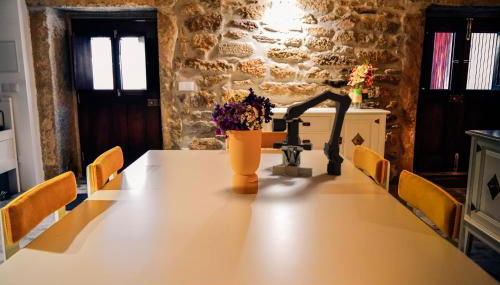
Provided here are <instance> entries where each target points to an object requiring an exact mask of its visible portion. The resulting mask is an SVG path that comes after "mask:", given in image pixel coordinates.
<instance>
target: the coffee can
mask: <svg viewBox="0 0 500 285" xmlns="http://www.w3.org/2000/svg"><path fill="white" fill-rule="evenodd" d="M281 140H282V141H281V142H283V143H284V144H287V141H286V138H283V139H281ZM300 144H302V138H300ZM296 150H297V148H289V156H290V151H296ZM281 152H282V153H281V154H282V158H281V159H282V162H281V163H282V164H281V166H285V165H286V164H287V163H288V160H287V157H286V155H285V153H284V151H282V150H281ZM301 153H302V152H300V154H299V157H298V160H297V163H296V164H300V166H301V162H302V161H301V160H302V159H301V158H302V157H301V156H302V154H301Z"/></svg>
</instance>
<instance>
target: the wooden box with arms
mask: <svg viewBox="0 0 500 285" xmlns="http://www.w3.org/2000/svg"><path fill="white" fill-rule="evenodd" d="M272 174H273V175H284V177H290V178H291V177H292V178H298V177H299V176H300V177H310V178H311V177H313V167H303V166H302V167H301V165H300V164H296V165H295V166H289V163H287V164H286V165H285V166H283V165H274V164H273V165H272Z"/></svg>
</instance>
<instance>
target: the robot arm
mask: <svg viewBox="0 0 500 285" xmlns="http://www.w3.org/2000/svg"><path fill="white" fill-rule="evenodd" d="M328 100H329V101H332V102H335V103H334V106H335V115H334V120H333V124H332V127H331V128H332V129H331V134H330V137H329V140H328V142H324V144H323V149H322V151H323V154H324V156H325V157H326V158H327V160H328V162H327V164H326V173H327V175H334V176H341V175H342V164H343V163H344V158H343V157H342V156H341V155H340V152H341V150H340V138H341V135H342V134H341V133H342V130H343V125H344V120H345V116H346V113H347V112H348V110H350V107H351V105H352V102H353V101H352V100H353V99H352V97H351V96H350V95H349V94H341V93H340V94H339V93H337V92H334V91H333V92H332V91H331V90H324V91H323V92H321V93H319V94H316V95H315V96H313V97H311V98H309V99H307V100H305V101H303V102H300V103H295V104H292V105H289V106H288V107H286V112H285V114H284V115H283V117H281V118H280V117H278V118H277V117H273V118H272V121H271V132H272V133H285V131H286V137H285V139H286V141H287V144H284V143H283V141H279V140H278V141H275V142H274V143H272V149H273V150H276V149H277V150H280V149H281V152H282V151H284V153H285V155H286V157H287V160H288V163H289V158H290V156H289V148H297V150H296V158H295V163H297V160H298V157H299V154H300V152H301V153H303V152H304V151H310V152H311V151H312V150H313V146H314V145H313V143H312V142H304V143H303V144H302V143H301V144H300V139H301V137H300V136H299V135H300V123H304V121H303V120H302V118H301V116H302V115H303V114H304V113H305V112H306V111H308V110H309V109H312V108H314V107H316V106H317V105H320V104H322V103H324V102H326V101H328Z"/></svg>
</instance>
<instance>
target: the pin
mask: <svg viewBox="0 0 500 285" xmlns="http://www.w3.org/2000/svg"><path fill="white" fill-rule="evenodd" d="M295 158H296V151H290V158H289V166H295V165H296V163H295Z"/></svg>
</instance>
